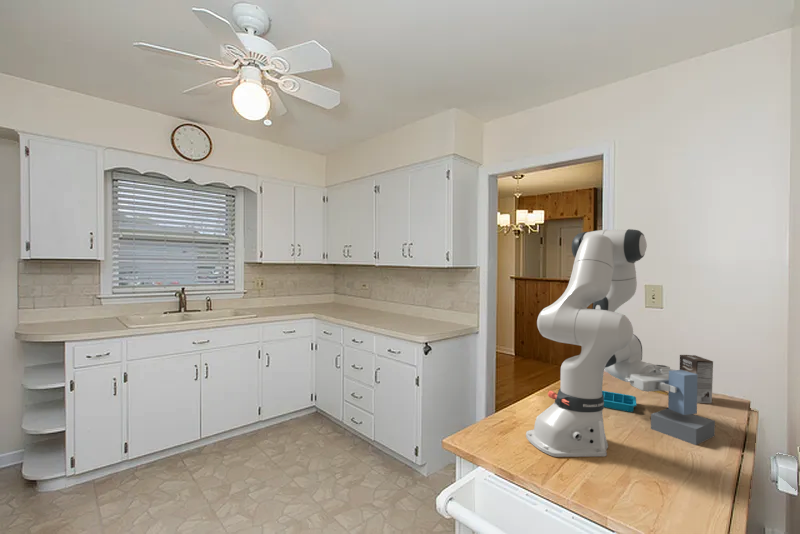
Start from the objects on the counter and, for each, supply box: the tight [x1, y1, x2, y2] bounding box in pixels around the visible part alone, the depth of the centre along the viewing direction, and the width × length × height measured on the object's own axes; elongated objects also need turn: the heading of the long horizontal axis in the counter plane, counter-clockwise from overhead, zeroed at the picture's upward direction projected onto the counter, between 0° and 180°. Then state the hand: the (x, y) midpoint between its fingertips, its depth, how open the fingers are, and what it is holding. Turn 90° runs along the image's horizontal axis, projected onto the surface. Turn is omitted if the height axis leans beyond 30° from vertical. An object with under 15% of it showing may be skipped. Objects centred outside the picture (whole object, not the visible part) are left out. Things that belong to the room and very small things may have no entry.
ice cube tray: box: [602, 390, 637, 413], centre depth 138 cm, size 12×20×3 cm, turn 58°
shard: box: [651, 390, 669, 396], centre depth 153 cm, size 11×8×2 cm
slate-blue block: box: [667, 369, 698, 415], centre depth 114 cm, size 5×5×12 cm
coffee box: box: [679, 354, 714, 404], centre depth 143 cm, size 9×6×16 cm
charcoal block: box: [650, 407, 716, 446], centre depth 114 cm, size 12×12×5 cm
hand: (685, 389), depth 113 cm, fingers closed on slate-blue block, 5 cm apart
